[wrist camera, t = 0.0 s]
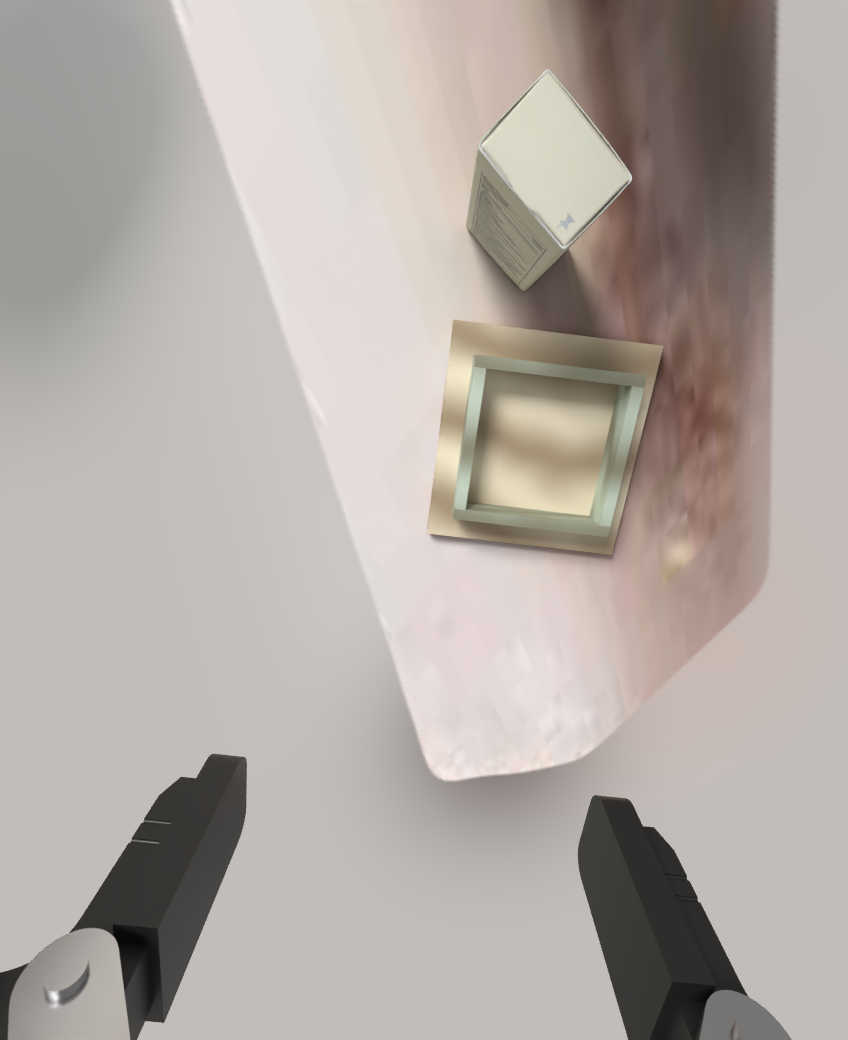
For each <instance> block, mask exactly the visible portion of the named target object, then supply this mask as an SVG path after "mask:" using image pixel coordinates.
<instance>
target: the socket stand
mask: <svg viewBox="0 0 848 1040" xmlns="http://www.w3.org/2000/svg"><path fill="white" fill-rule="evenodd" d="M662 350H663V346H661V345H653V344H644V343H636V342H628V341H620V340H612V339H604V338H596V337H588V336H580V335H572V334H564V333H556V332H548V331H540V330H532V329H524V328H516V327H508V326H500V325H492V324H484V323H476V322H468V321H460V320H454V321H453V328H452V336H451V344H450V352H449V360H448V368H447V376H446V384H445V392H444V400H443V408H442V416H441V424H440V432H439V440H438V448H437V456H436V464H435V472H434V480H433V488H432V496H431V504H430V512H429V520H428V528H427V534H436V535H444V536H453V537H462V538H470V539H479V540H487V541H496V542H505V543H513V544H522V545H531V546H539V547H548V548H557V549H565V550H574V551H583V552H591V553H600V554H608V555H612V553H613V548H614V544H615V540H616V536H617V532H618V528H619V524H620V520H621V516H622V512H623V508H624V504H625V500H626V496H627V492H628V488H629V484H630V480H631V476H632V472H633V468H634V464H635V460H636V455H637V451H638V447H639V443H640V439H641V435H642V431H643V427H644V423H645V419H646V415H647V411H648V407H649V403H650V399H651V395H652V391H653V387H654V383H655V379H656V375H657V371H658V367H659V362H660V358H661V354H662Z"/></svg>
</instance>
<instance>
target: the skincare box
mask: <svg viewBox="0 0 848 1040" xmlns="http://www.w3.org/2000/svg"><path fill="white" fill-rule="evenodd" d="M631 181H632V175H631V174H630V172H629V171H628V169H627V168H626V166H625V165H624V163H623V162H622V160H621V159H620V157H619V156H618V155H617V153H616V152H615V150H614V149H613V148H612V146H611V145H610V143H609V142H608V141H607V140H606V138H605V137H604V136H603V134H602V133H601V132H600V131H599V129H598V128H597V127H596V126H595V124H594V123H593V122H592V120H591V119H590V118H589V117H588V115H587V114H586V113H585V112H584V110H583V109H582V108H581V107H580V105H579V104H578V103H577V102H576V100H575V99H574V98H573V97H572V96H571V94H570V93H569V92H568V91H567V90H566V89H565V87H564V86H563V85H562V84H561V83H560V81H559V80H558V79H557V78H556V77H555V75H554V74H553V73H552V72H551V71H550V70H549V69H547V70H545V71H544V72H543V73H542V74H541V75H540V76H539V78H538V79H537V80H536V81H535V82H534V83H533V84H532V85H531V86H530V87H529V88H528V89H527V90H526V91H525V92H524V93H523V94H522V95H521V96H520V97H519V98H518V100H516V101H515V103H514V104H513V105H512V106H511V107H510V108H509V109H508V110H507V111H506V112H505V114H504V115H503V116H502V117H501V118H500V119H499V120H498V121H497V122H496V123H495V124H494V126H493V127H492V128H491V129H490V130H489V131H488V132H487V133H486V134H485V136H484V137H483V138H482V139H481V140H480V142H479V144H478V149H477V157H476V164H475V170H474V177H473V183H472V190H471V196H470V203H469V209H468V216H467V222H466V226H467V228H468V229H469V231H470V232H471V233H472V234H473V236H474V237H475V238H476V239H477V240H478V242H479V243H480V244H481V245H482V246H483V248H484V249H485V250H486V251H487V252H488V254H489V255H490V256H491V257H492V258H493V259H494V260H495V262H496V263H497V264H498V265H499V266H500V267H501V268H502V270H503V271H504V272H505V273H506V274H507V275H508V276H509V277H510V278H511V279H512V280H513V282H514V283H515V284H516V285H517V286H518V287H519V288H520V289H521V290H522V291H526V290H527V289H528V288H529V287H530V286H531V285H532V284H533V283H534V282H535V281H536V280H537V279H538V278H539V277H540V276H541V275H542V274H543V273H544V272H545V271H546V270H547V269H549V268H550V267H551V266H552V265H553V264H554V263H555V262H556V261H557V260H558V259H559V258H560V257H561V256H562V254H563V253H564V252H565V251H566V250H567V249H568V248H569V247H570V246H571V245H572V244H573V243H574V242H575V241H576V240H577V239H578V238H579V237H580V236H581V235H582V234H583V233H584V232H585V231H586V230H587V229H588V228H589V227H590V226H591V225H592V224H593V223H594V222H595V220H596V219H597V218H598V217H599V216H600V215H601V214H602V213H603V212H604V211H605V210H606V209H607V208H608V207H609V206H610V205H611V204H612V202H613V201H614V200H615V199H616V198H617V197H618V196H619V195H620V194H621V193H622V192H623V190H624V189H625V188H626V187H627V186H628V185H629V184H630V183H631Z"/></svg>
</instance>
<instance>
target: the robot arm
mask: <svg viewBox="0 0 848 1040" xmlns="http://www.w3.org/2000/svg"><path fill="white" fill-rule="evenodd" d="M246 770H247V762H246V758H245V757H238V756H228V755H219V754H212V755H210V756H209V757H208V759H207V761H206V762H205V764H204V766H203V768H202V769H201V771H200V773H199V774H198V776H197V778H196V779H195V778H186V777H180V778H179V779H178V780H177V781H176V782H174V783H173V784H172V785H171V786H170V787H169V788H167V789H166V790H165V791H164V792H163V793H162V794H160V795H159V797H158V798H157V800H156V801H155V803H154V804H153V806H152V807H151V809H150V811H149V812H148V814H147V815H146V817H145V818H144V822H143V823H141V825H140V826H139V828H138V829H137V831H136V832H135V834H134V836H133V837H132V841H131V843H128V845H127V847H126V848H125V850H124V851H123V853H122V854H121V856H120V858H119V859H118V861H117V862H116V864H115V866H114V867H113V868H112V870H111V872H110V873H109V875H108V876H107V878H106V879H105V881H104V883H103V884H102V886H101V887H100V889H99V891H98V892H97V894H96V895H95V897H94V898H93V900H92V901H91V903H90V905H89V906H88V908H87V909H86V911H85V912H84V914H83V916H82V917H81V918H80V920H79V921H78V923H77V924H76V926H75V927H74V928H73V929H72V930H71V931H70V933H69V934H66V935H64V936H62V937H60V938H59V939H57V940H55V941H54V942H52V943H51V944H49V945H48V946H47V947H45V948H44V949H43V950H42V951H41V952H39V954H37V956H35V958H34V959H33V960H31V962H30V963H28V964H25V965H23V966H21V967H18V968H15V969H12V970H9V971H5V972H1V973H0V1040H137V1038H138V1036H139V1034H140V1031H141V1029H142V1027H143V1025H144V1022H145V1021H152V1022H162V1023H164V1021H165V1019H166V1017H167V1014H168V1011H169V1009H170V1007H171V1005H172V1002H173V1000H174V997H175V995H176V992H177V990H178V987H179V985H180V982H181V980H182V978H183V975H184V973H185V970H186V968H187V965H188V963H189V960H190V958H191V956H192V953H193V951H194V948H195V946H196V943H197V941H198V939H199V936H200V934H201V931H202V929H203V926H204V924H205V921H206V919H207V916H208V914H209V912H210V909H211V907H212V904H213V902H214V900H215V897H216V895H217V892H218V890H219V887H220V885H221V882H222V880H223V878H224V875H225V873H226V870H227V868H228V865H229V863H230V860H231V858H232V856H233V853H234V851H235V848H236V846H237V843H238V841H239V838H240V835H241V832H242V829H243V825H244V819H245V814H246V779H247V778H246V776H247V775H246V774H247V771H246ZM578 863H579V871H580V876H581V879H582V883H583V886H584V890H585V893H586V896H587V900H588V903H589V907H590V910H591V914H592V917H593V920H594V924H595V927H596V931H597V934H598V937H599V941H600V944H601V948H602V951H603V954H604V958H605V961H606V965H607V968H608V972H609V975H610V979H611V982H612V985H613V989H614V992H615V996H616V999H617V1003H618V1006H619V1009H620V1013H621V1016H622V1019H623V1023H624V1026H625V1030H626V1033H627V1037H628V1040H791V1038H790V1037H789V1035H788V1034H787V1032H786V1031H785V1030H784V1028H783V1027H782V1026H781V1024H780V1023H779V1022H778V1021H777V1020H776V1019H775V1018H774V1017H773V1016H772V1015H771V1014H770V1013H769V1012H768V1011H767V1010H766V1009H765V1008H764V1007H762V1006H761V1005H760V1004H759V1003H757V1002H756V1001H754V1000H753V999H751V998H749V997H748V995H747V994H746V992H745V990H744V988H743V987H742V985H741V983H740V981H739V979H738V977H737V975H736V973H735V971H734V969H733V967H732V965H731V963H730V961H729V959H728V957H727V955H726V953H725V951H724V949H723V947H722V945H721V943H720V941H719V939H718V937H717V935H716V933H715V931H714V929H713V927H712V925H711V923H710V921H709V919H708V917H707V915H706V913H705V911H704V909H703V907H702V905H701V903H699V902H698V900H697V895H696V893H695V891H694V889H693V887H692V885H691V883H690V881H688V880H687V875H686V873H685V871H684V869H683V867H682V865H681V863H680V861H679V859H678V857H677V855H676V853H675V851H674V850H673V849H672V848H671V846H670V845H669V844H668V843H667V842H666V841H665V840H664V838H663V837H662V836H661V835H660V834H659V833H658V832H657V830H656V829H655V828H653V827H643V826H642V824H641V821H640V819H639V817H638V815H637V813H636V811H635V808H634V807H633V805H632V803H631V802H630V801H629V800H628V799H626V798H616V797H607V796H606V797H605V796H597V795H595V796H593V797H592V799H591V802H590V806H589V809H588V813H587V817H586V820H585V824H584V827H583V831H582V835H581V838H580V842H579V847H578Z"/></svg>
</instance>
